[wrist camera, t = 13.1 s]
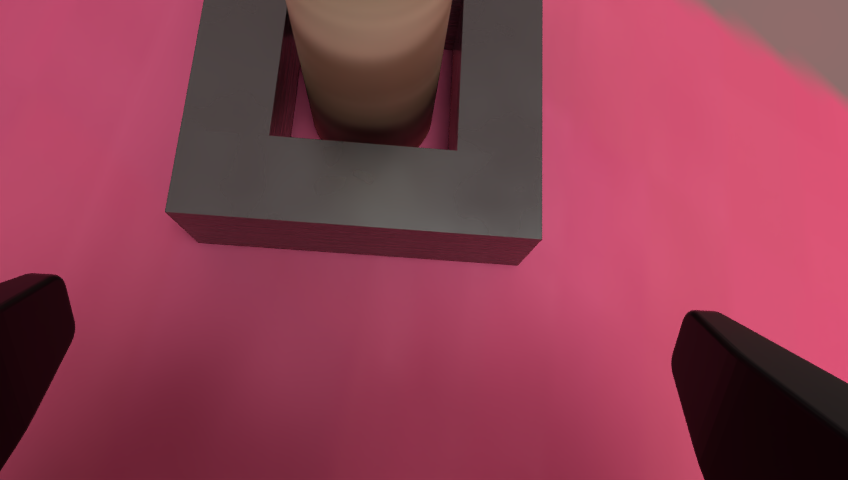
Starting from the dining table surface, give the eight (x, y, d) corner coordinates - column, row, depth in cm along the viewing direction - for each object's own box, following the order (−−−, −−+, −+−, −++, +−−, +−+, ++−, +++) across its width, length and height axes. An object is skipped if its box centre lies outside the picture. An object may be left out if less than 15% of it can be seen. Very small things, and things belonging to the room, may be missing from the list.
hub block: (518, 265, 19) (544, 237, 16) (197, 242, 19) (162, 209, 16) (521, -3, 22) (544, -70, 19) (243, -29, 21) (219, -102, 18)
